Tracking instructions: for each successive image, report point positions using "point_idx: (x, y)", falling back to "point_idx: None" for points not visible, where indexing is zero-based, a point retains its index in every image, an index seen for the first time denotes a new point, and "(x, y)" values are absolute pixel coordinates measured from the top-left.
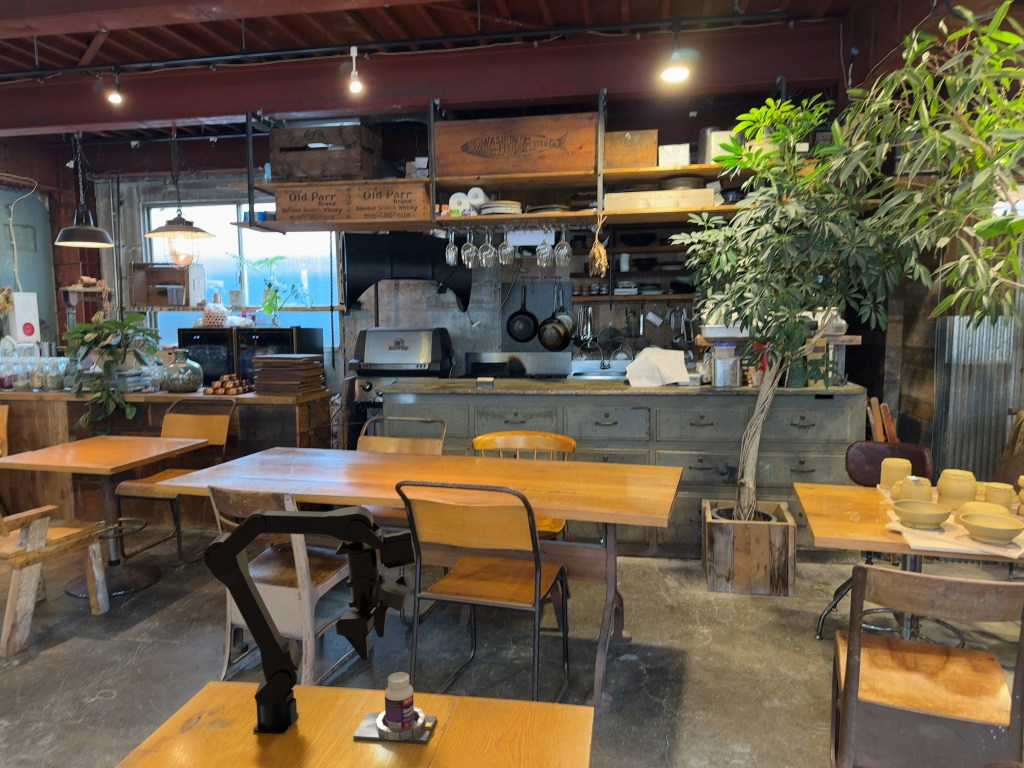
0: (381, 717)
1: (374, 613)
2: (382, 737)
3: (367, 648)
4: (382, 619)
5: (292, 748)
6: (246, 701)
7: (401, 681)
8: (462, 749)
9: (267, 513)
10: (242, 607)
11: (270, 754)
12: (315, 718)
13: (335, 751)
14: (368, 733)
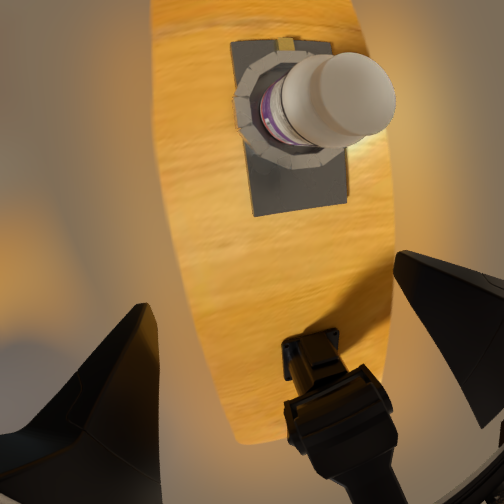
0: (306, 158)
1: (140, 469)
2: None
3: (457, 268)
4: (118, 395)
5: (370, 291)
6: (258, 413)
7: (386, 74)
8: None
9: None
10: None
11: (382, 310)
12: (284, 312)
13: (375, 217)
14: (335, 173)
